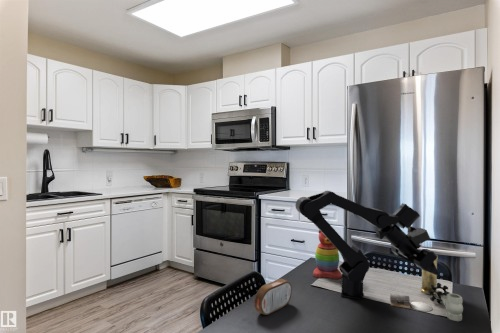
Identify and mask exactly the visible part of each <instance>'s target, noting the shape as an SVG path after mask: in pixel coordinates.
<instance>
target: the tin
mask: <svg viewBox="0 0 500 333" xmlns="http://www.w3.org/2000/svg"><path fill="white" fill-rule="evenodd" d="M292 292H293V286H292V283H291V282H290V281H288V280H287V279H284V278H278V279H275V280H273V281H271V282H268V283H265V284H263V285H262V286H261V287H259V289H258V290H257V292H256V294H255V297H254V302H253V304H254V309H255V311H256V312H257V313H260V314H261V315H263V316H268V315H270V314H273V313H275V312H276V311H278V310H280V309H282V308H285V307H286V306H287V305H288V304H289V303H290V300H291V298H292V294H293V293H292Z"/></svg>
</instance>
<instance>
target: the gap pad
mask: <svg viewBox="0 0 500 333" xmlns="http://www.w3.org/2000/svg"><path fill="white" fill-rule="evenodd" d="M409 305H410V308H412V309H413V310H416V311H420V312H431V311H432V310H433V307H432V306H431V305H430V304H428V303H426V302H421V301H412V302H409Z"/></svg>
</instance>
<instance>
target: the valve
mask: <svg viewBox="0 0 500 333" xmlns="http://www.w3.org/2000/svg"><path fill="white" fill-rule="evenodd" d="M430 287H431V288H432V291H428V292H427V293H428V294H429V295H428V296H430V298H429V299H430V300H431V302H435V301H436V303H437V304H438V305H442V303H443V305H444V307H445V309H446V314H445V315H446V317H447V319H448V320H449V321H450V320H451V321H453V322H454V321H455V322H461V321H463V311H464V307H463V297H462V296H461V295H460V294H458V293H452V292H450V291H447V290H449V286H448V285H446V284H444V285H442V284H441V283H440V282H437V286H436V287H435V286H433V285H431V286H430ZM436 289H437V291H435V290H436ZM438 289H439V290H438ZM442 290H443V291H442ZM434 292H435V293H436V295H434Z"/></svg>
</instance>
